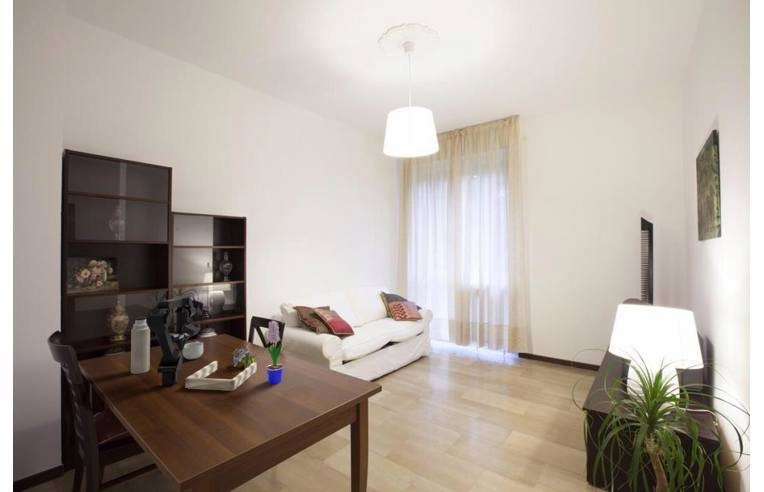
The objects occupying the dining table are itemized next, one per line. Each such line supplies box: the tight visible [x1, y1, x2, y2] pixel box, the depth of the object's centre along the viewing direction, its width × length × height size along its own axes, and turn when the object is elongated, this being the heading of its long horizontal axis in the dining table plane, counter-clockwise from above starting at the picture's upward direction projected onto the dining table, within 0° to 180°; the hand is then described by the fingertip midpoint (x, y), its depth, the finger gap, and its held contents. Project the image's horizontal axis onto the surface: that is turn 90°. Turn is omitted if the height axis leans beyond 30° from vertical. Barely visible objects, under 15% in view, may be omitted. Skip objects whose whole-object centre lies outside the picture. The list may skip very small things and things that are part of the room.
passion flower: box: [231, 344, 259, 370], centre depth 188 cm, size 13×12×14 cm
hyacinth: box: [265, 320, 287, 385], centre depth 167 cm, size 9×10×30 cm
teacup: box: [182, 340, 204, 360], centre depth 201 cm, size 14×11×8 cm
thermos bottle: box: [130, 316, 151, 375], centre depth 177 cm, size 8×8×28 cm
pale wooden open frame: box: [184, 360, 258, 392], centre depth 169 cm, size 24×23×4 cm
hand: (181, 350), depth 175 cm, fingers closed
